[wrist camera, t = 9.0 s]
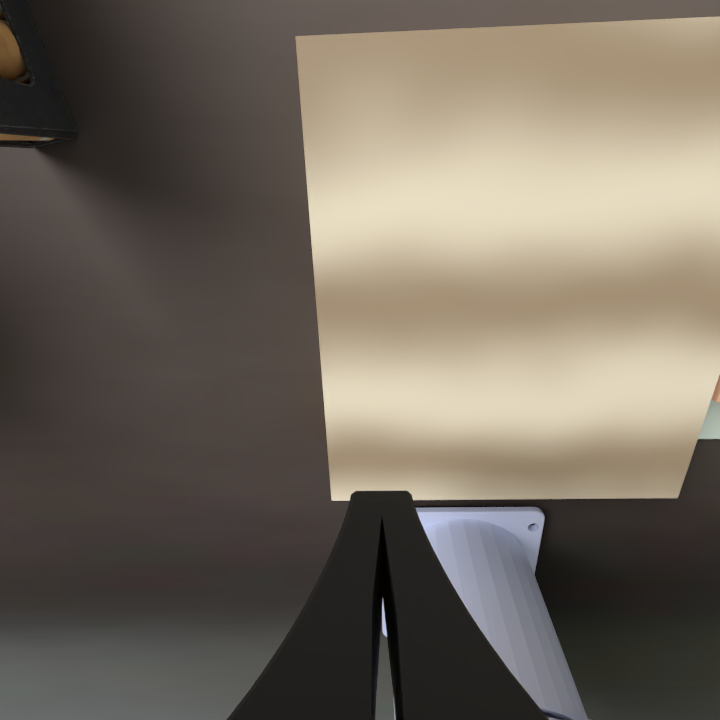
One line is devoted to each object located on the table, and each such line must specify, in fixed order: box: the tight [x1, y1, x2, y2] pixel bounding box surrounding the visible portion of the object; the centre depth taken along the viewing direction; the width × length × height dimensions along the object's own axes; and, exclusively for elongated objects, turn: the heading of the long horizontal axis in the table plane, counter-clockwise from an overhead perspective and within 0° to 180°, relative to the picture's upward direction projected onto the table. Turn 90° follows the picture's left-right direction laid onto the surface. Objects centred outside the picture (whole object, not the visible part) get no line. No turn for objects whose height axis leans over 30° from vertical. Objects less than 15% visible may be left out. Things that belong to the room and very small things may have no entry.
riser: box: [295, 17, 720, 501], centre depth 17 cm, size 16×14×3 cm
